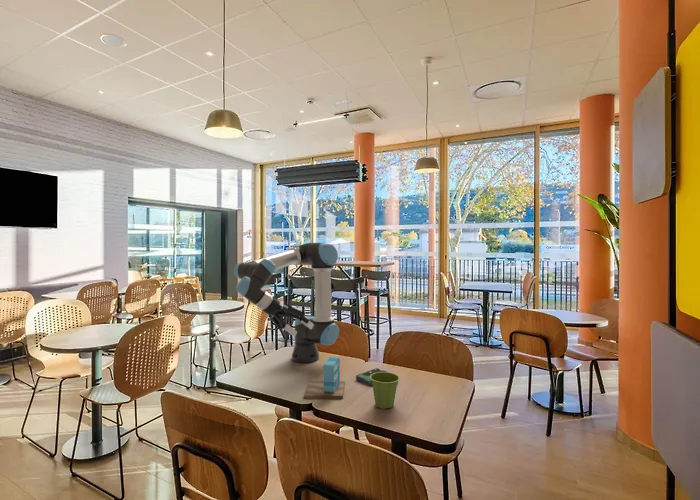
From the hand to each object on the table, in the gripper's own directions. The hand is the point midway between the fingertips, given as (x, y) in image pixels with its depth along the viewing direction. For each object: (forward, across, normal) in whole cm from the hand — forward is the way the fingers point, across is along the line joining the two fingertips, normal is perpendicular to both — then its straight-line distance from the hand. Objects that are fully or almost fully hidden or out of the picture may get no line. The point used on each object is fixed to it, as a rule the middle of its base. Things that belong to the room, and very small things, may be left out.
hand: (304, 330), depth 163 cm
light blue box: (+22, +5, -17) cm, 28 cm away
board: (+20, +2, -18) cm, 28 cm away
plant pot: (+34, +27, -21) cm, 48 cm away
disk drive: (+41, +8, -3) cm, 41 cm away
